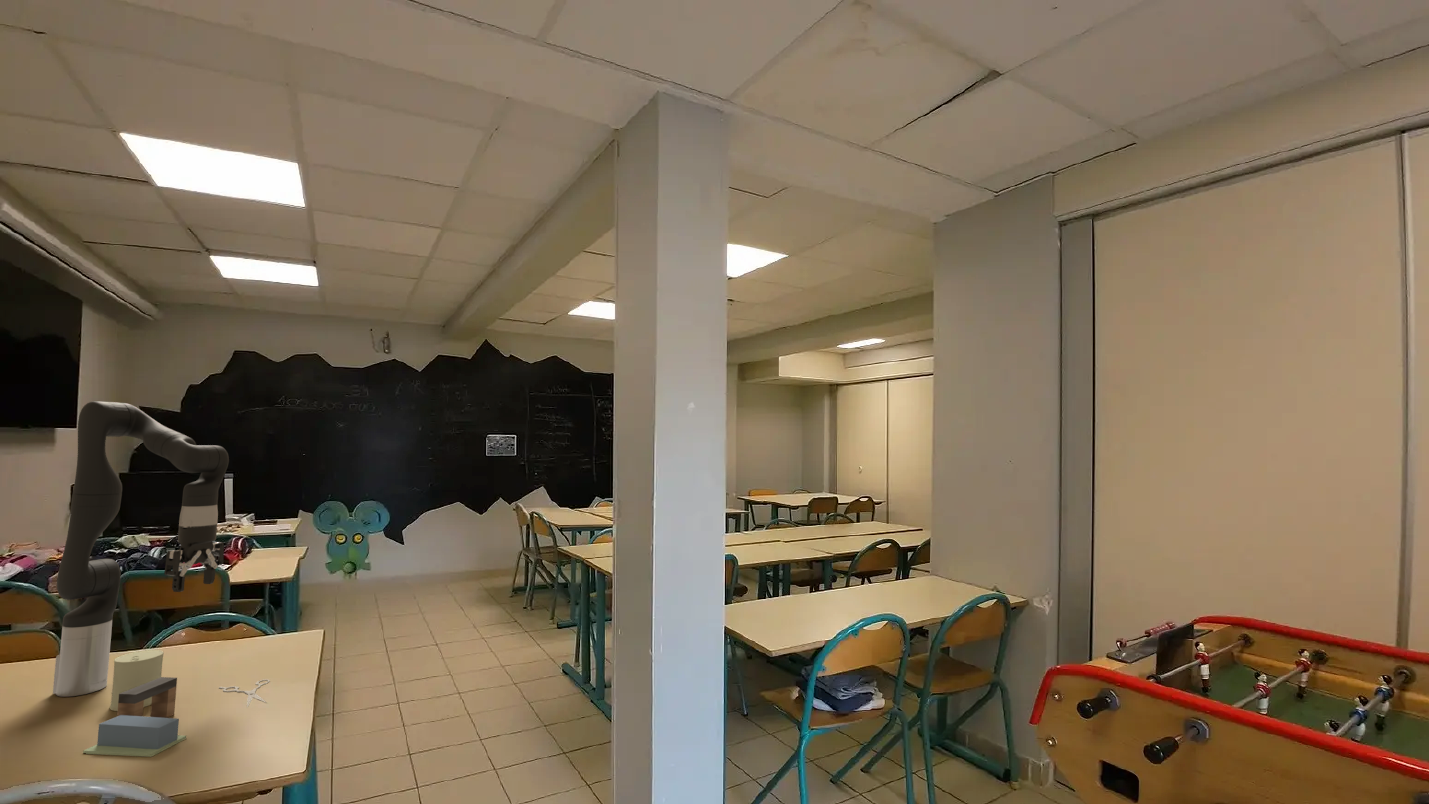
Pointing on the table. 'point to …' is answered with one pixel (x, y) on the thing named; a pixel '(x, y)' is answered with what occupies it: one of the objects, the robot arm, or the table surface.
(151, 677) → the can
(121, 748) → the pad
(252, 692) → the scissors
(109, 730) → the blue slab
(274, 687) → the table surface
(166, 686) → the block arch
